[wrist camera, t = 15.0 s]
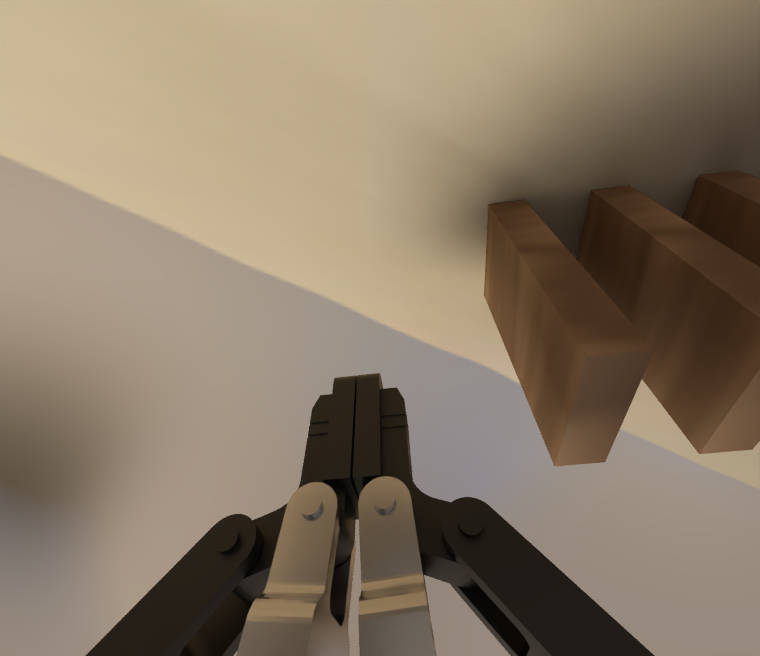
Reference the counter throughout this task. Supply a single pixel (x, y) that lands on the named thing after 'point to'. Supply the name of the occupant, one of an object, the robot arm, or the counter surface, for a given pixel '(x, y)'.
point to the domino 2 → (682, 313)
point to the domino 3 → (728, 211)
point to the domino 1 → (561, 336)
